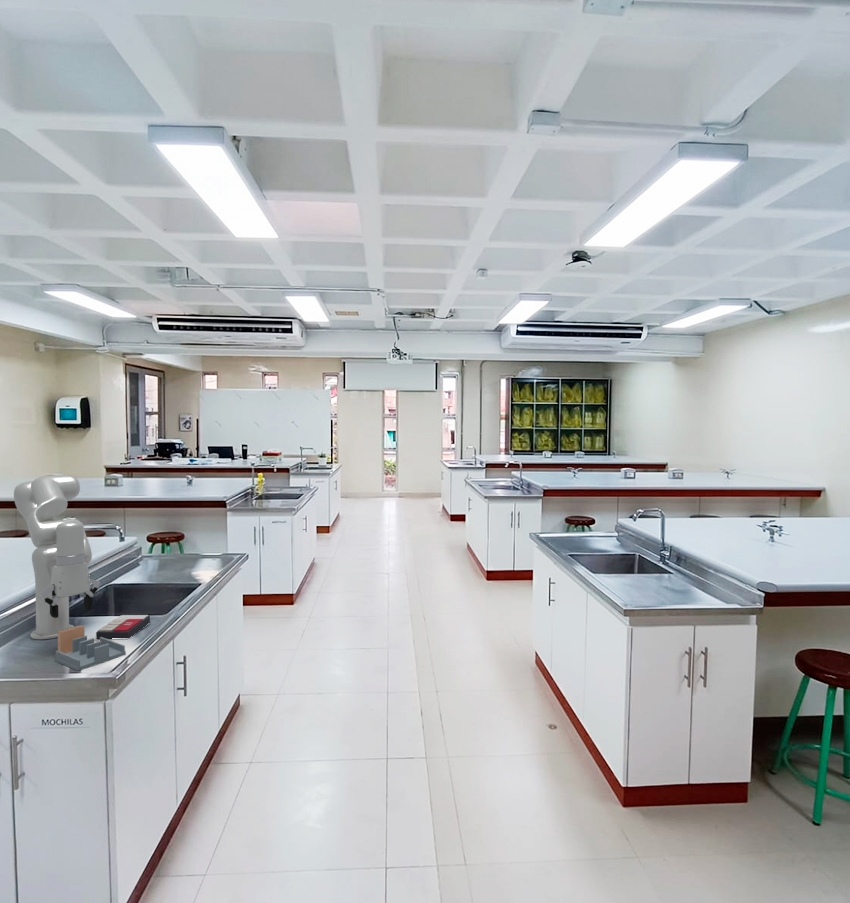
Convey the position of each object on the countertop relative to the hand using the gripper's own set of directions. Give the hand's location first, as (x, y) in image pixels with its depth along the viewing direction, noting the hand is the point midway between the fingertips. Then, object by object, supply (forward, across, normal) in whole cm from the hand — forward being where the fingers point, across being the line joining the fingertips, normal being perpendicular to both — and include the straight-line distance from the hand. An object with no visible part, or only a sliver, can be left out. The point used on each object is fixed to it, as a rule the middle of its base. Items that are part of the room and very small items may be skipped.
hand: (71, 612), depth 168 cm
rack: (+13, 0, +11) cm, 17 cm away
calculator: (+13, -18, -3) cm, 23 cm away
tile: (+12, 0, -1) cm, 12 cm away
